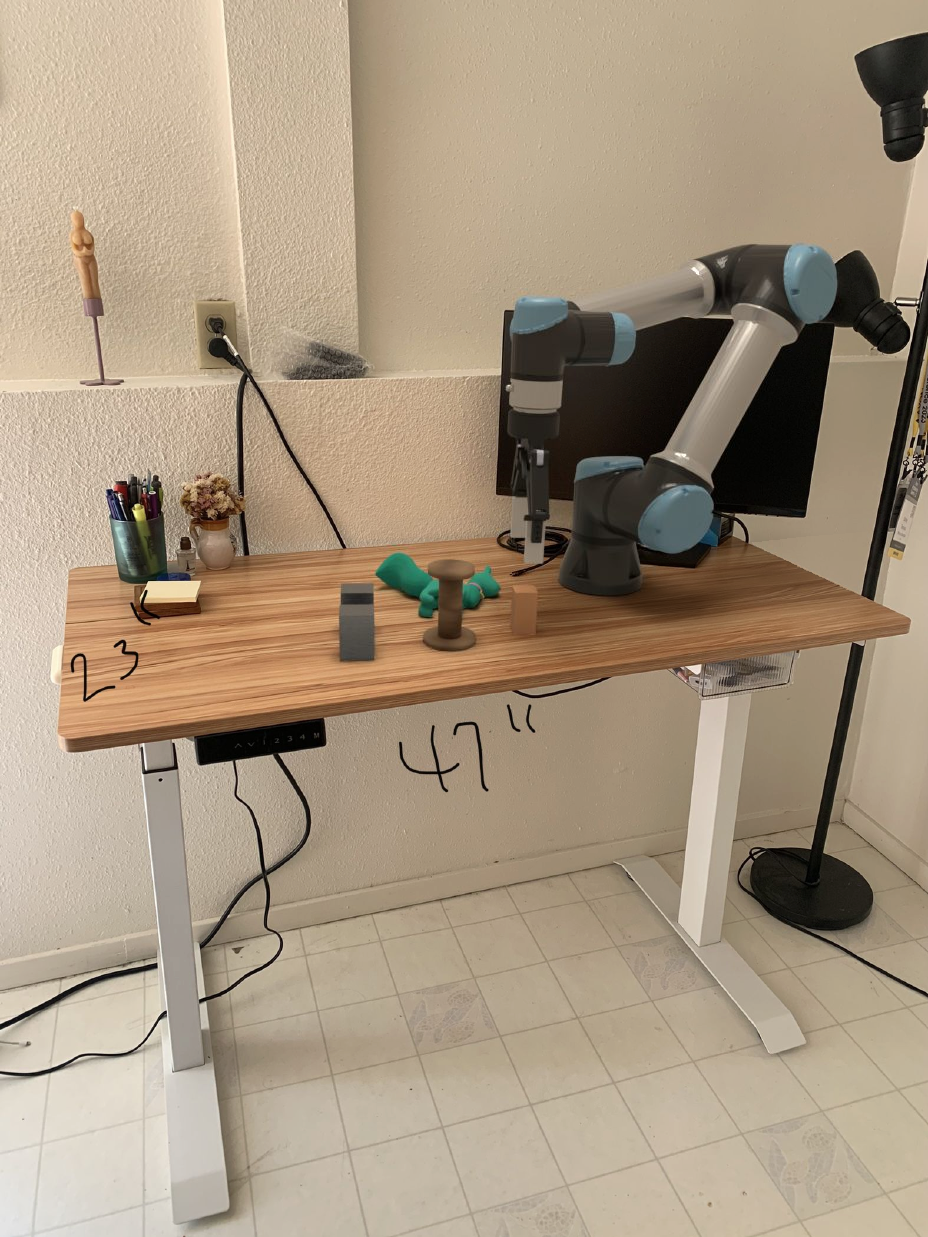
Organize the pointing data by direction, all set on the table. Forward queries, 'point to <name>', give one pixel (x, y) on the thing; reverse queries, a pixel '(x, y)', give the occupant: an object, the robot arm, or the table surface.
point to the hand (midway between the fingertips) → (525, 549)
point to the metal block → (357, 622)
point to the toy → (432, 583)
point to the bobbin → (450, 606)
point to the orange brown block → (523, 609)
